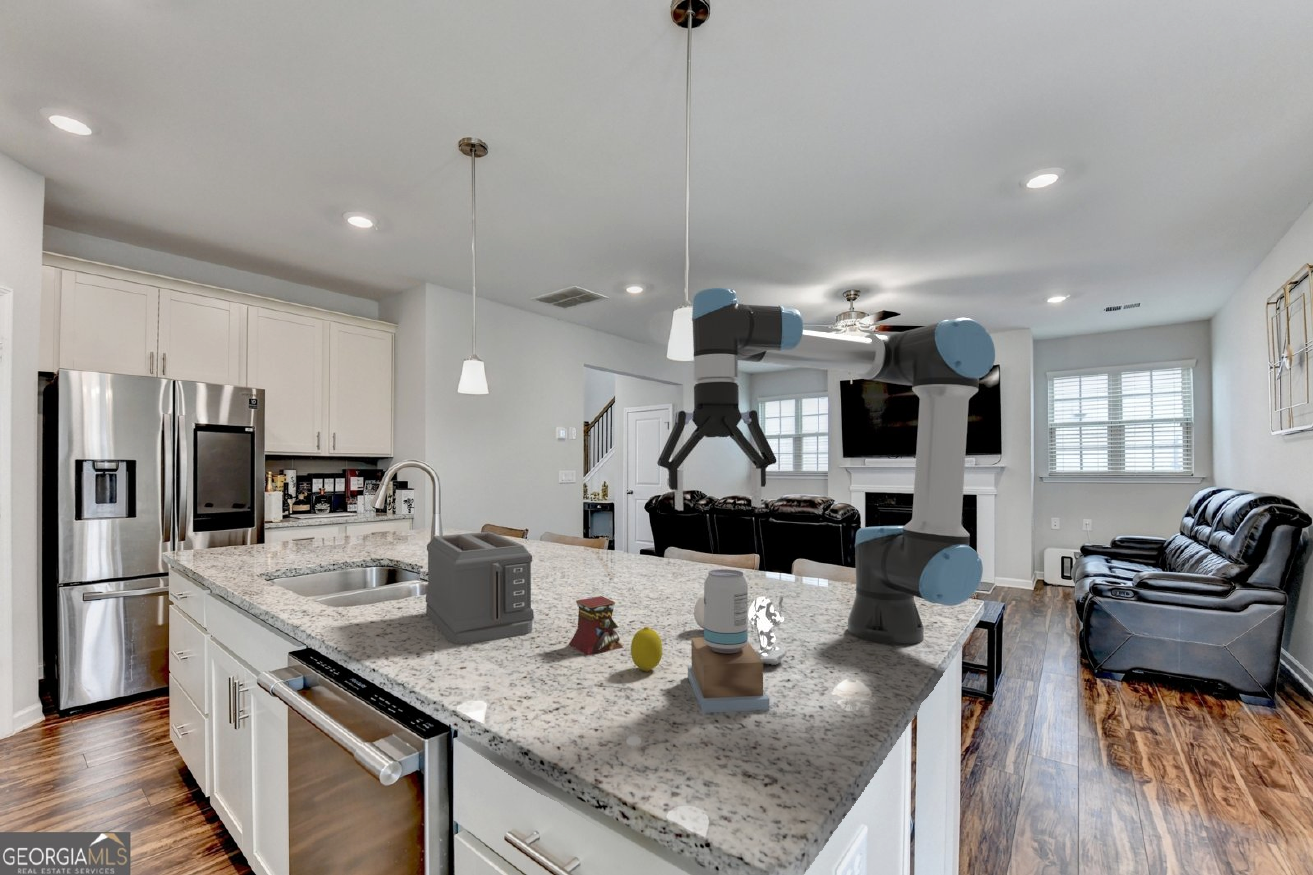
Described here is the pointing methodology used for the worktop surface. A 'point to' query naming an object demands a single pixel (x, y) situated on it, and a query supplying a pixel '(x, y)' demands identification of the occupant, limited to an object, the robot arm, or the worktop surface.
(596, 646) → the tiki totem
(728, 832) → the worktop surface
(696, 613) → the egg
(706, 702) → the base brick
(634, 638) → the lemon
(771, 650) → the figurine
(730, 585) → the beverage can
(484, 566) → the toaster
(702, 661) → the walnut brick
